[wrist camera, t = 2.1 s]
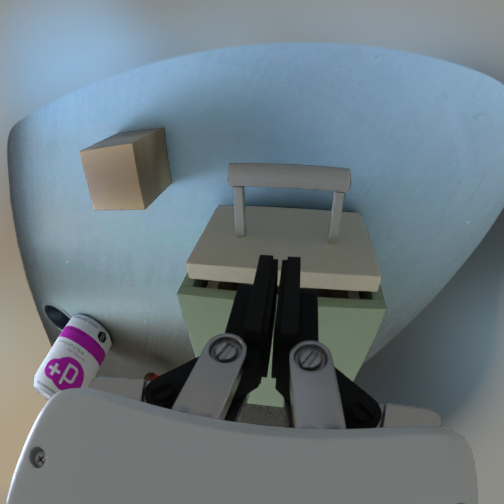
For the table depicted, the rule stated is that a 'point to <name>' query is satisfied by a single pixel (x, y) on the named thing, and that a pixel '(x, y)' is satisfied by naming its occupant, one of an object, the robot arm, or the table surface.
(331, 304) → the cabinet
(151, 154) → the block
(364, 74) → the table surface
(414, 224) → the table surface
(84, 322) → the supplement can
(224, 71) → the table surface
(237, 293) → the robot arm
